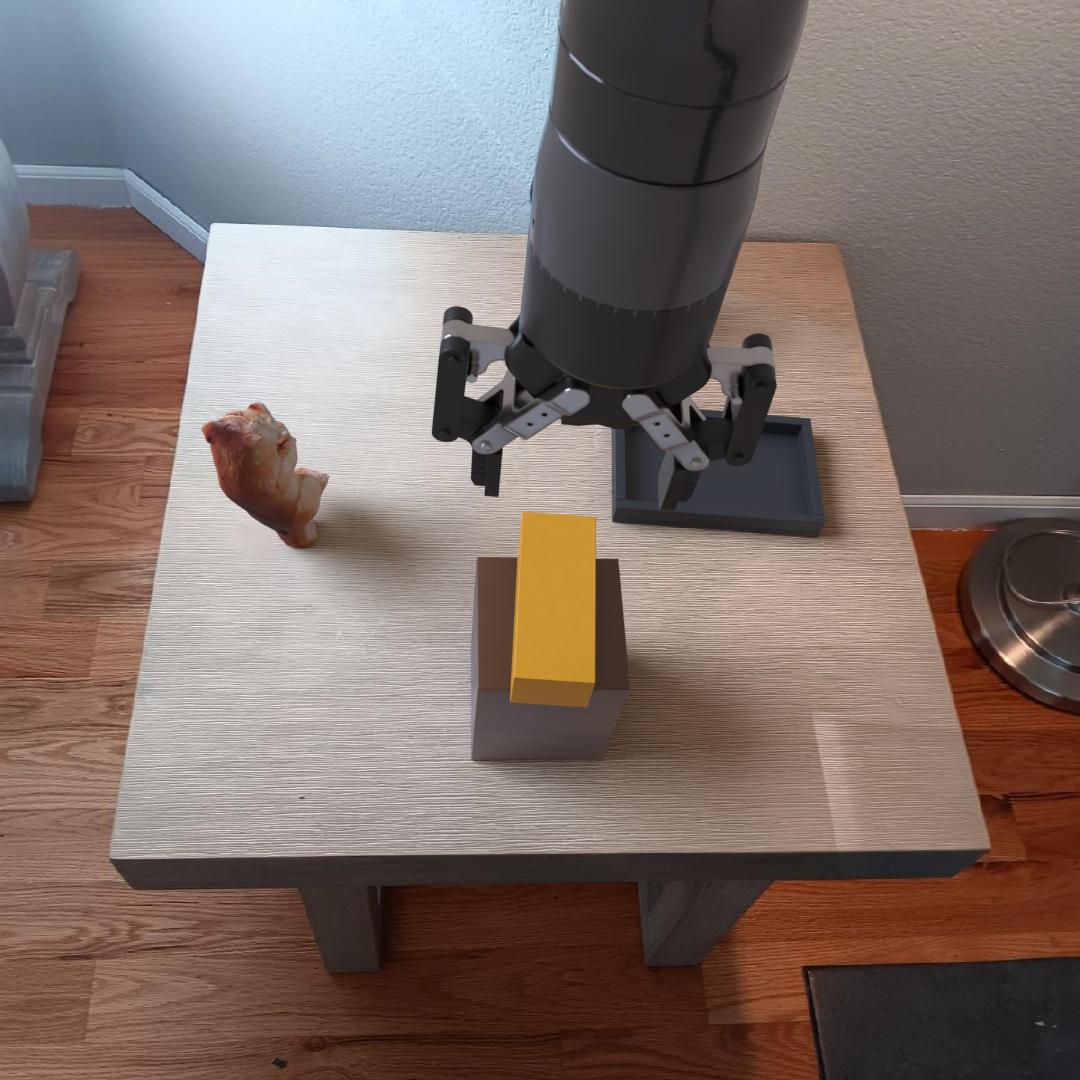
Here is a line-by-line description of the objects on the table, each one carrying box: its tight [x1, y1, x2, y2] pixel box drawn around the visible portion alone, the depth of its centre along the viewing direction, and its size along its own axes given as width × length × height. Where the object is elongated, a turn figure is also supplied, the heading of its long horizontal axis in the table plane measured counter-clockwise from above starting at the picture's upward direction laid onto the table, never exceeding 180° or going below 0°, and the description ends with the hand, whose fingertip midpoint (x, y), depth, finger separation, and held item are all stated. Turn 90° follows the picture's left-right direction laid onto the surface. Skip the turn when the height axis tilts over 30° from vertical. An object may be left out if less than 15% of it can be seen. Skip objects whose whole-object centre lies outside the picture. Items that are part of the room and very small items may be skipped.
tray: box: [610, 408, 826, 538], centre depth 82 cm, size 11×17×2 cm, turn 88°
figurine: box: [200, 401, 330, 549], centre depth 70 cm, size 6×8×15 cm
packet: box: [510, 511, 597, 707], centre depth 60 cm, size 11×4×4 cm, turn 178°
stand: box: [470, 556, 631, 761], centre depth 66 cm, size 9×9×12 cm
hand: (579, 489), depth 49 cm, fingers open, 8 cm apart
